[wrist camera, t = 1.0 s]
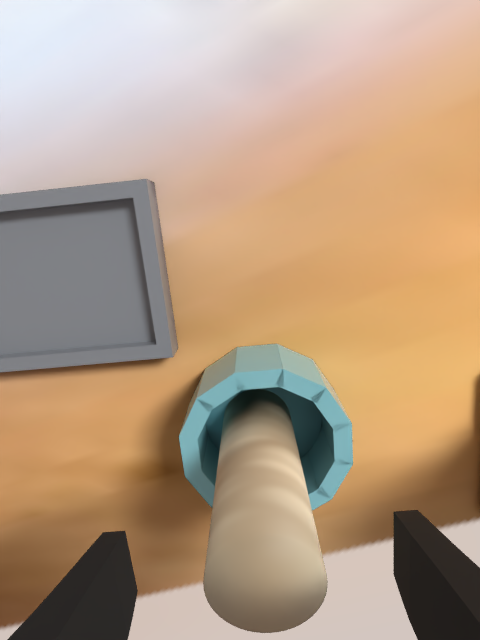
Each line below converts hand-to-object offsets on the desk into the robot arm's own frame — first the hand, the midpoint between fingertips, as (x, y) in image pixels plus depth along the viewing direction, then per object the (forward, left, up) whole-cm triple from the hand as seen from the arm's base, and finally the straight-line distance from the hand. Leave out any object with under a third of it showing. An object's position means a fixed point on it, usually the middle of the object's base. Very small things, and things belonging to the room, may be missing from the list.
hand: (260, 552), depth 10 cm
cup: (0, 0, -8) cm, 8 cm away
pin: (0, 0, -7) cm, 7 cm away
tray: (+8, -7, -8) cm, 13 cm away
